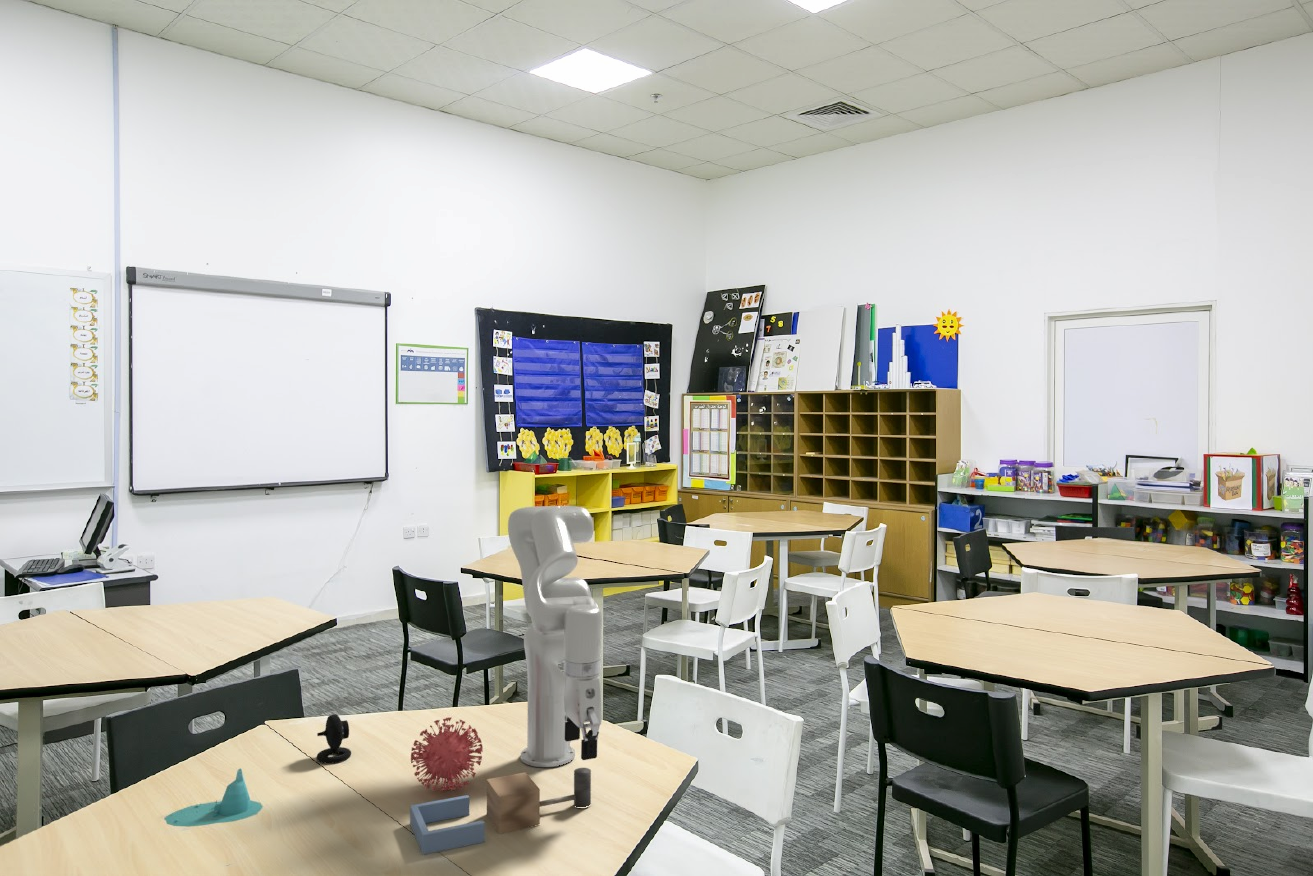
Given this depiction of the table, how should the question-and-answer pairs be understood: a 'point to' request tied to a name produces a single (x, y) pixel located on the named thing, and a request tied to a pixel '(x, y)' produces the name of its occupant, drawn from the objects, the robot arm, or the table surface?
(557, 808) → the table surface
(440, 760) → the virus model
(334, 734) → the webcam
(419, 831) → the blue-grey u-shaped piece
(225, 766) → the table surface
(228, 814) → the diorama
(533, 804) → the tether block
